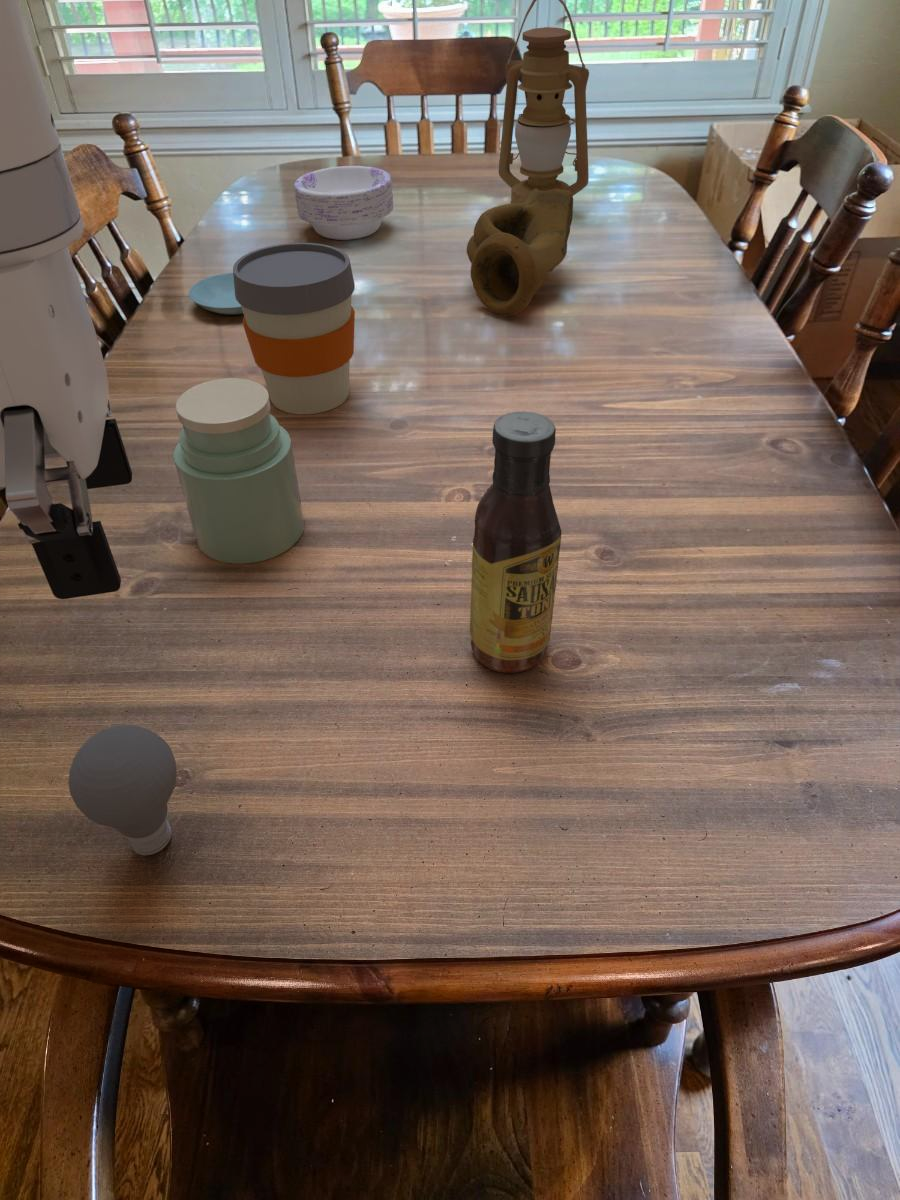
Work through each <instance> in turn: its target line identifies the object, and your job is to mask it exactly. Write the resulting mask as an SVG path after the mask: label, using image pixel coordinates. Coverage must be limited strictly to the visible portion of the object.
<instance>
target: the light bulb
mask: <svg viewBox="0 0 900 1200" xmlns="http://www.w3.org/2000/svg"><path fill="white" fill-rule="evenodd" d="M176 783H177V761H176V759H175V756H174V753H173V749H171V747H170V746H169V744H168V742H166V741H165V739H163V738H162V737H161V736H160V735H159V734H158V733H156V732H154V731H152V730H150V729H148V728H146V727H143V726H139V725H133V724H120V725H119V724H118V725H114V726H109V727H107V728H104V729H102V730H100V731H98V732H96V733H95V734H93V735H92V736H90V737H89V738H87V740H86V741H84V743H83V744H82V745H81V746H80V747H79V749H78V750H77V752H76V754H75V756H74V758H73V759H72V762H71V764H70V768H69V772H68V790H69V794H70V797H71V799H72V800H73V802H74V804H75V807H76V808H78V810H79V811H80V812H81V813H82V814H83V815H84V816H85V817H86V818H87V819H89V820H91V821H92V822H93V823H96V824H98V825H100V826H103V827H109V828H112V829H115V830H117V832H118V833H119V834H120V835H123V836H124V837H126V839H127V841H128V843H129V845H130V847H131V849H132V850H133V852H134V853H136V854H138V855H141V856H151V855H155V854H157V853H159V852H160V851H162V850H163V849H164V848H165V847H167V845H168V844H169V842H170V840H171V839H172V838H171V837H172V828H171V825H170V823H169V821H168V818H167V815H168V803H169V802H170V799H171V797H172V794H173V793H174V790H175V788H176Z"/></svg>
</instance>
